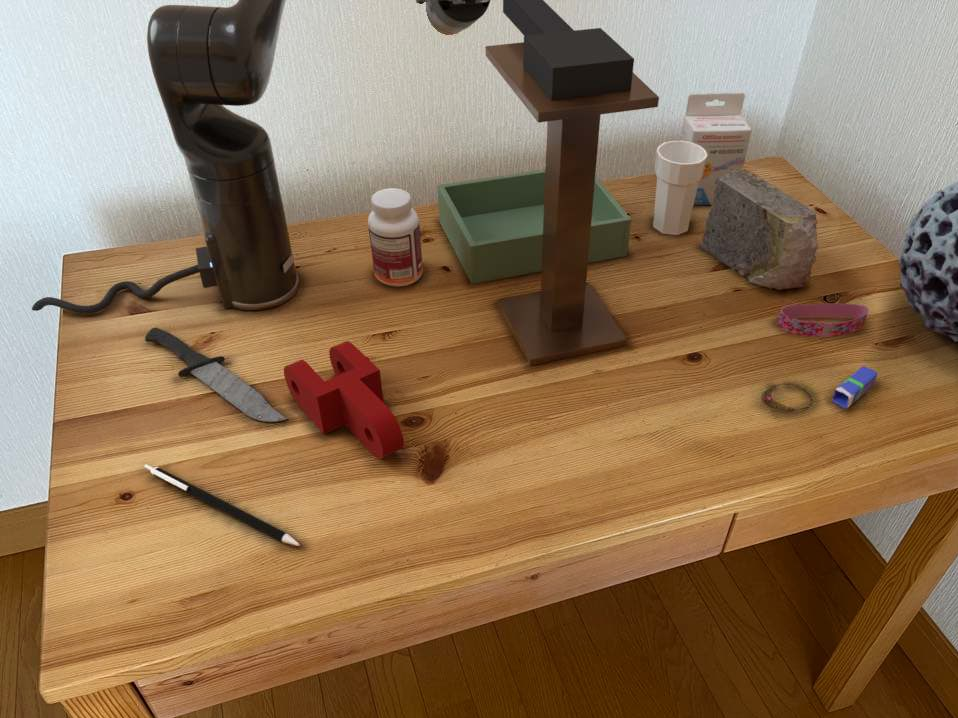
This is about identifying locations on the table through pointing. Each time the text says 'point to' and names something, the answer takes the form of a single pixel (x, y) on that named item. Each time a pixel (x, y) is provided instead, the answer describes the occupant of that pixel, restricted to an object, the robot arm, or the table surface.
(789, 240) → the geological specimen
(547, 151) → the shelf stand
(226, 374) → the knife
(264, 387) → the table surface
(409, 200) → the pill bottle
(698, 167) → the cup
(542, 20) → the bar
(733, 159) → the ink box
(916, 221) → the decorative object
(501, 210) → the bin
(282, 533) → the pen
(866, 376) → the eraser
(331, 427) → the mechanical linkage
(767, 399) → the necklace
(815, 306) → the headband
